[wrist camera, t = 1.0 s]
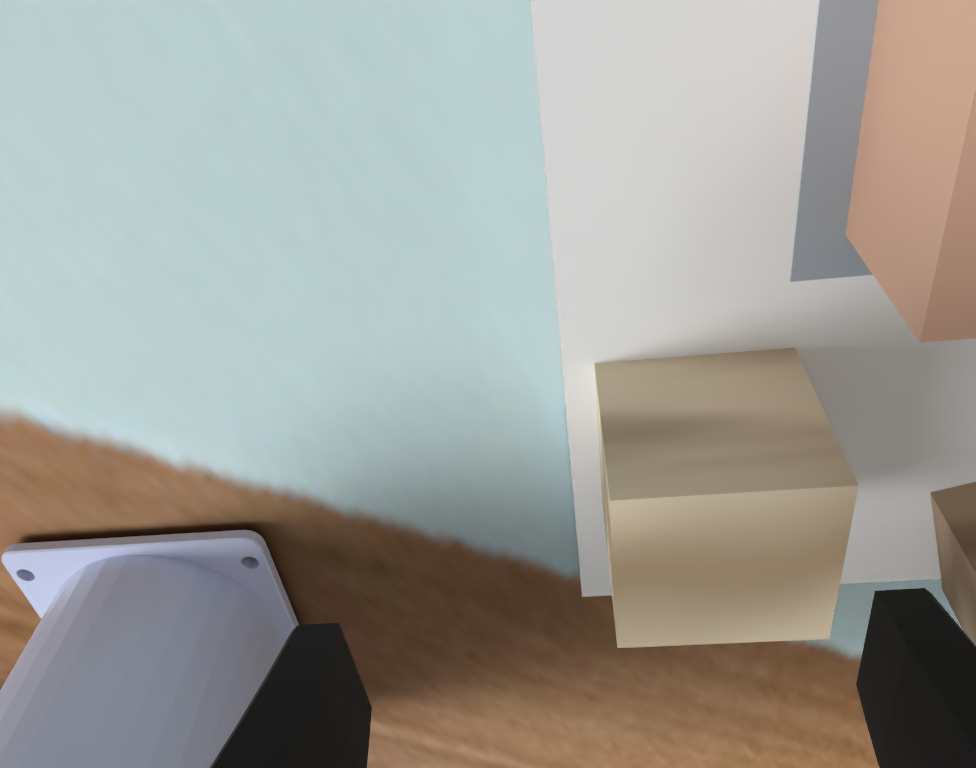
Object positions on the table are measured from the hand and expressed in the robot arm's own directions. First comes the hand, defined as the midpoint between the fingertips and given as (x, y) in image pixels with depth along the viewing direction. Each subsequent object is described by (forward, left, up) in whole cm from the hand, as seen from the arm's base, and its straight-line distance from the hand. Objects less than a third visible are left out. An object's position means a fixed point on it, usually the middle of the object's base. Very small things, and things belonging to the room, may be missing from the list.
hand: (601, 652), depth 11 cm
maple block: (-3, -3, -9) cm, 10 cm away
